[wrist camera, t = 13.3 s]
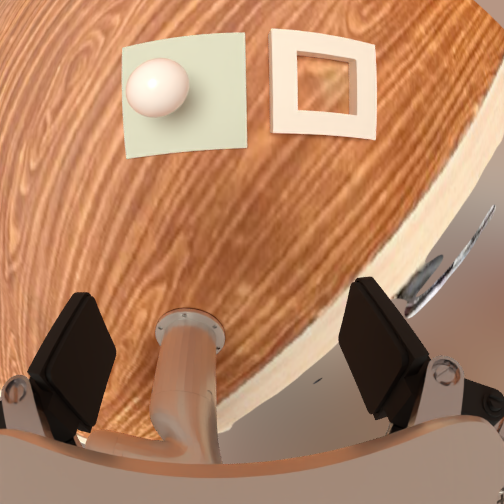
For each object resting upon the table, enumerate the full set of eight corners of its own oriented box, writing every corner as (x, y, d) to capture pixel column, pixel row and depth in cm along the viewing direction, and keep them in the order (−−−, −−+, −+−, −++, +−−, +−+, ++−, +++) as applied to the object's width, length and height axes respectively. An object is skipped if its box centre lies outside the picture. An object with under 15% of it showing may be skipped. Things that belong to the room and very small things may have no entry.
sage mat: (246, 147, 33) (247, 147, 33) (127, 158, 32) (126, 159, 31) (244, 33, 26) (245, 32, 25) (123, 48, 25) (122, 47, 24)
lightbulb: (145, 118, 29) (113, 118, 20) (151, 72, 26) (121, 54, 17) (194, 119, 30) (180, 117, 20) (200, 72, 27) (189, 50, 18)
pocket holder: (367, 138, 33) (375, 139, 31) (270, 132, 32) (273, 133, 30) (366, 48, 27) (374, 45, 25) (268, 34, 26) (271, 28, 24)
